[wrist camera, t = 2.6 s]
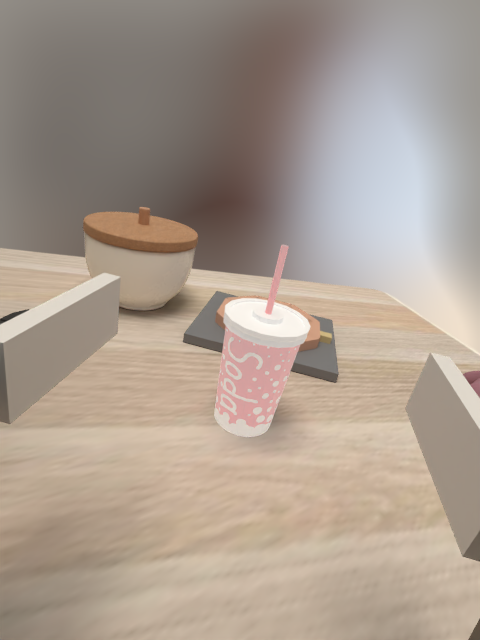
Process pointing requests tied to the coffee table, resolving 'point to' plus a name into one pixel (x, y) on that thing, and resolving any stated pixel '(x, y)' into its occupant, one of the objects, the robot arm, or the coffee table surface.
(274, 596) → the coffee table surface
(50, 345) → the robot arm
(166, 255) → the lidded bowl
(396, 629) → the coffee table surface
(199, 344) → the ring board
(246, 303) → the beverage cup
